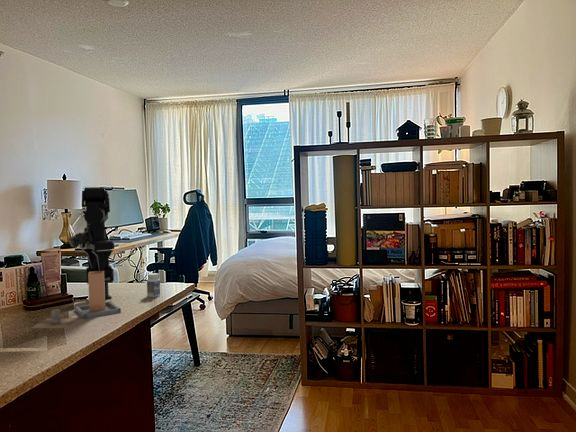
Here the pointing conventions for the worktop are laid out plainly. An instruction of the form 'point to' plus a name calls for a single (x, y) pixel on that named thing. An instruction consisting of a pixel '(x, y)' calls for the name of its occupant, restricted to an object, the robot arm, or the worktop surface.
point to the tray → (85, 312)
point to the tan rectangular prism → (96, 291)
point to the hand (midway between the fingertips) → (97, 269)
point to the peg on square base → (55, 321)
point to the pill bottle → (153, 285)
